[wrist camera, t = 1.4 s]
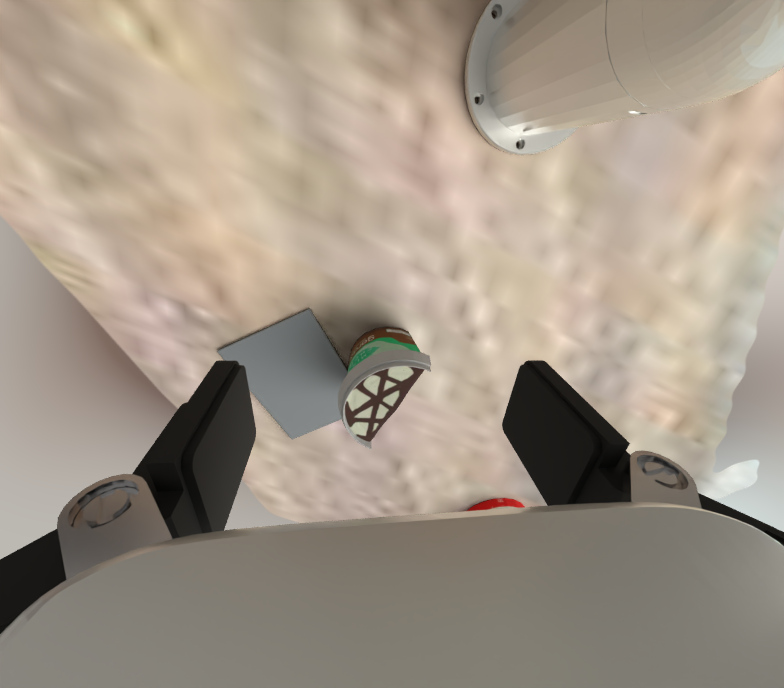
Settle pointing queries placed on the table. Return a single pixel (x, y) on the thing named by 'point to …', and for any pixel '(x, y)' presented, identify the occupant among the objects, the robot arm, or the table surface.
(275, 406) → the mat
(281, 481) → the table surface
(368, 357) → the food container
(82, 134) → the table surface
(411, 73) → the table surface
